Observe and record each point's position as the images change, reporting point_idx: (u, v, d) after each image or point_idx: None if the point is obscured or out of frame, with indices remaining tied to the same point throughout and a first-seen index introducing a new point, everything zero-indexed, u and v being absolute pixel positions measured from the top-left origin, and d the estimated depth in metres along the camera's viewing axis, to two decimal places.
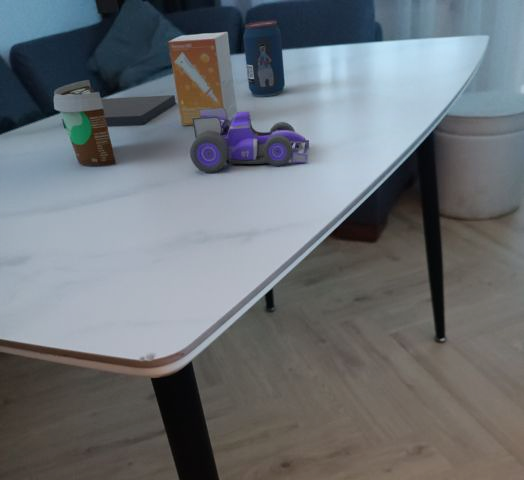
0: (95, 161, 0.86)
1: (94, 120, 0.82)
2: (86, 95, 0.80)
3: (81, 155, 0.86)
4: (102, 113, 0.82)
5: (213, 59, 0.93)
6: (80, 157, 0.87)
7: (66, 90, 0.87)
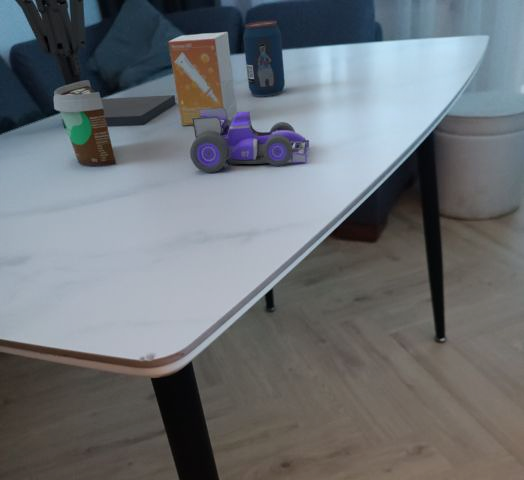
0: (95, 161, 0.86)
1: (94, 120, 0.82)
2: (86, 95, 0.80)
3: (81, 155, 0.86)
4: (102, 113, 0.82)
5: (213, 59, 0.93)
6: (80, 157, 0.87)
7: (66, 90, 0.87)
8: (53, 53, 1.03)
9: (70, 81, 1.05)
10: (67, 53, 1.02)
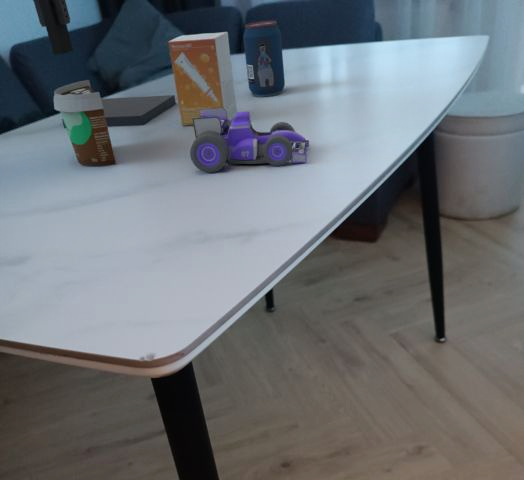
0: (95, 161, 0.86)
1: (94, 120, 0.82)
2: (86, 95, 0.80)
3: (81, 155, 0.86)
4: (102, 113, 0.82)
5: (213, 59, 0.93)
6: (80, 157, 0.87)
7: (66, 90, 0.87)
8: None
9: (55, 33, 0.79)
10: None
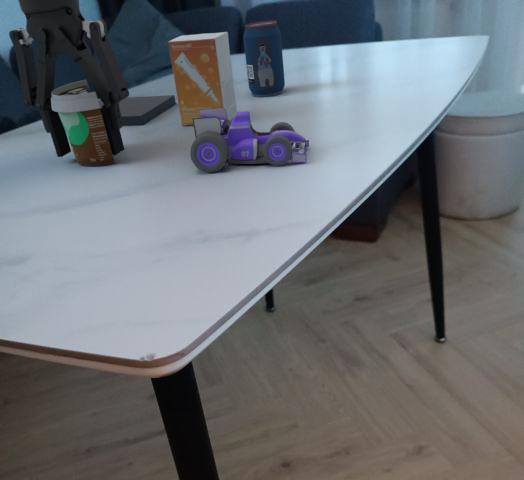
0: (94, 161, 0.86)
1: (91, 120, 0.82)
2: (82, 95, 0.80)
3: (80, 155, 0.86)
4: (99, 113, 0.82)
5: (213, 59, 0.93)
6: (78, 157, 0.87)
7: (63, 90, 0.87)
8: (37, 106, 0.85)
9: (109, 137, 0.85)
10: (107, 103, 0.82)
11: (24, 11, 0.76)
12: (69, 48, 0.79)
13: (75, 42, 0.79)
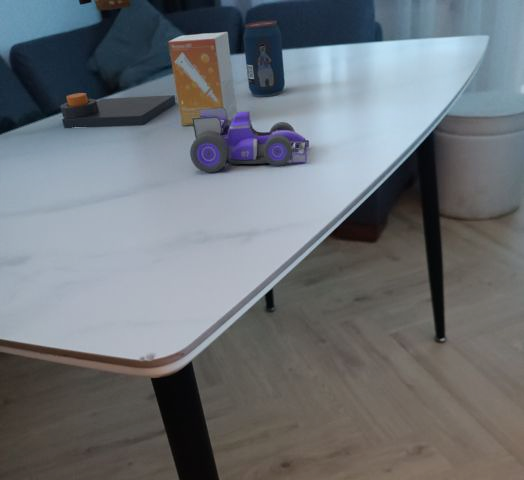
0: (112, 4, 0.97)
1: None
2: None
3: None
4: None
5: (213, 59, 0.93)
6: (99, 1, 0.98)
7: None
8: None
9: None
10: None
11: None
12: None
13: None
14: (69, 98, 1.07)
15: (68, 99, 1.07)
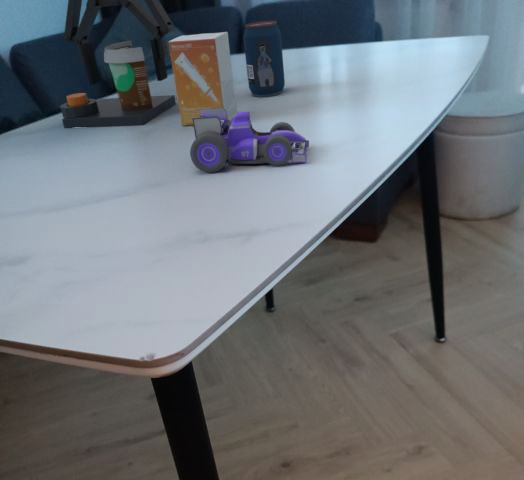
0: (136, 105, 1.07)
1: (137, 70, 1.03)
2: (131, 49, 1.01)
3: (125, 100, 1.07)
4: (143, 64, 1.02)
5: (213, 59, 0.93)
6: (123, 102, 1.08)
7: (113, 48, 1.08)
8: (75, 40, 1.05)
9: (156, 65, 1.03)
10: (156, 34, 1.00)
11: None
12: None
13: None
14: (69, 98, 1.07)
15: (68, 99, 1.07)
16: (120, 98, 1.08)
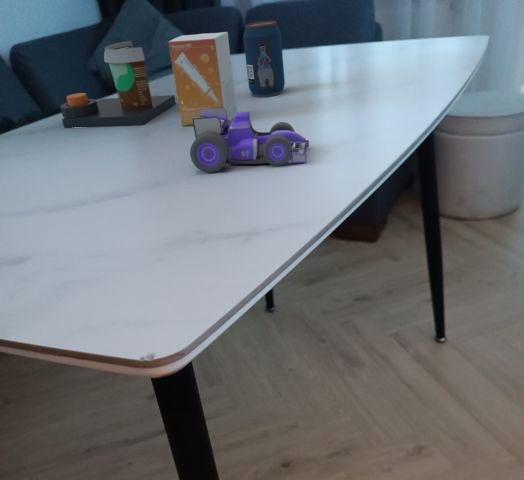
0: (136, 105, 1.07)
1: (137, 70, 1.03)
2: (131, 49, 1.01)
3: (125, 100, 1.07)
4: (143, 64, 1.03)
5: (213, 59, 0.93)
6: (123, 102, 1.08)
7: (113, 48, 1.08)
8: None
9: None
10: None
11: None
12: None
13: None
14: (69, 98, 1.07)
15: (68, 99, 1.07)
16: (120, 98, 1.08)
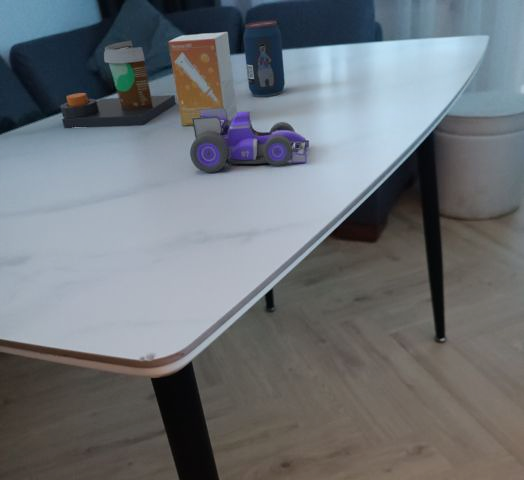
0: (136, 105, 1.07)
1: (137, 70, 1.03)
2: (131, 49, 1.01)
3: (125, 100, 1.07)
4: (143, 64, 1.03)
5: (213, 59, 0.93)
6: (123, 102, 1.08)
7: (113, 48, 1.08)
8: None
9: None
10: None
11: None
12: None
13: None
14: (69, 98, 1.07)
15: (68, 99, 1.07)
16: (120, 98, 1.08)
